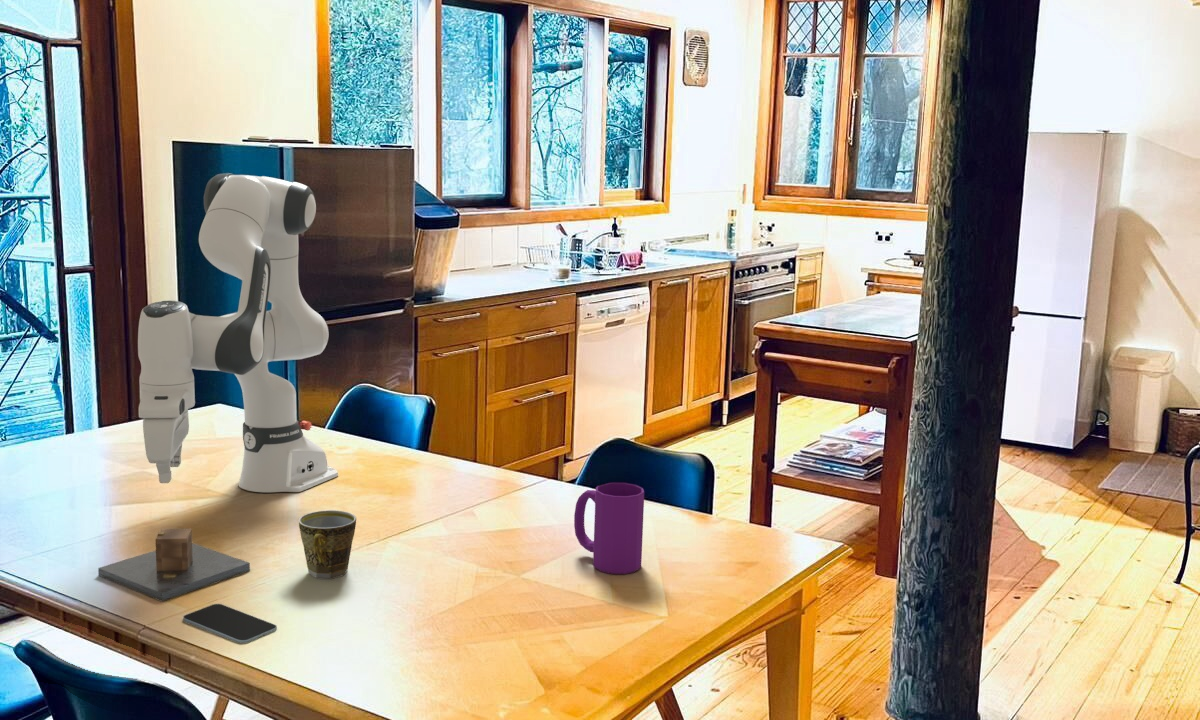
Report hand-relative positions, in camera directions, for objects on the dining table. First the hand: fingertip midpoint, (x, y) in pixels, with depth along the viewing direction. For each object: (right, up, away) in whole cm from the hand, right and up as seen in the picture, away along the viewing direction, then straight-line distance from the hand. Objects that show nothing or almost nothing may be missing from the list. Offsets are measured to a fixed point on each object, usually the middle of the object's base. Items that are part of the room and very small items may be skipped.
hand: (170, 473), depth 200 cm
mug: (+76, -18, +16) cm, 80 cm away
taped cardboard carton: (0, -16, +3) cm, 17 cm away
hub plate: (0, -18, +3) cm, 18 cm away
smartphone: (+16, -23, -17) cm, 33 cm away
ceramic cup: (+26, -19, +5) cm, 32 cm away
